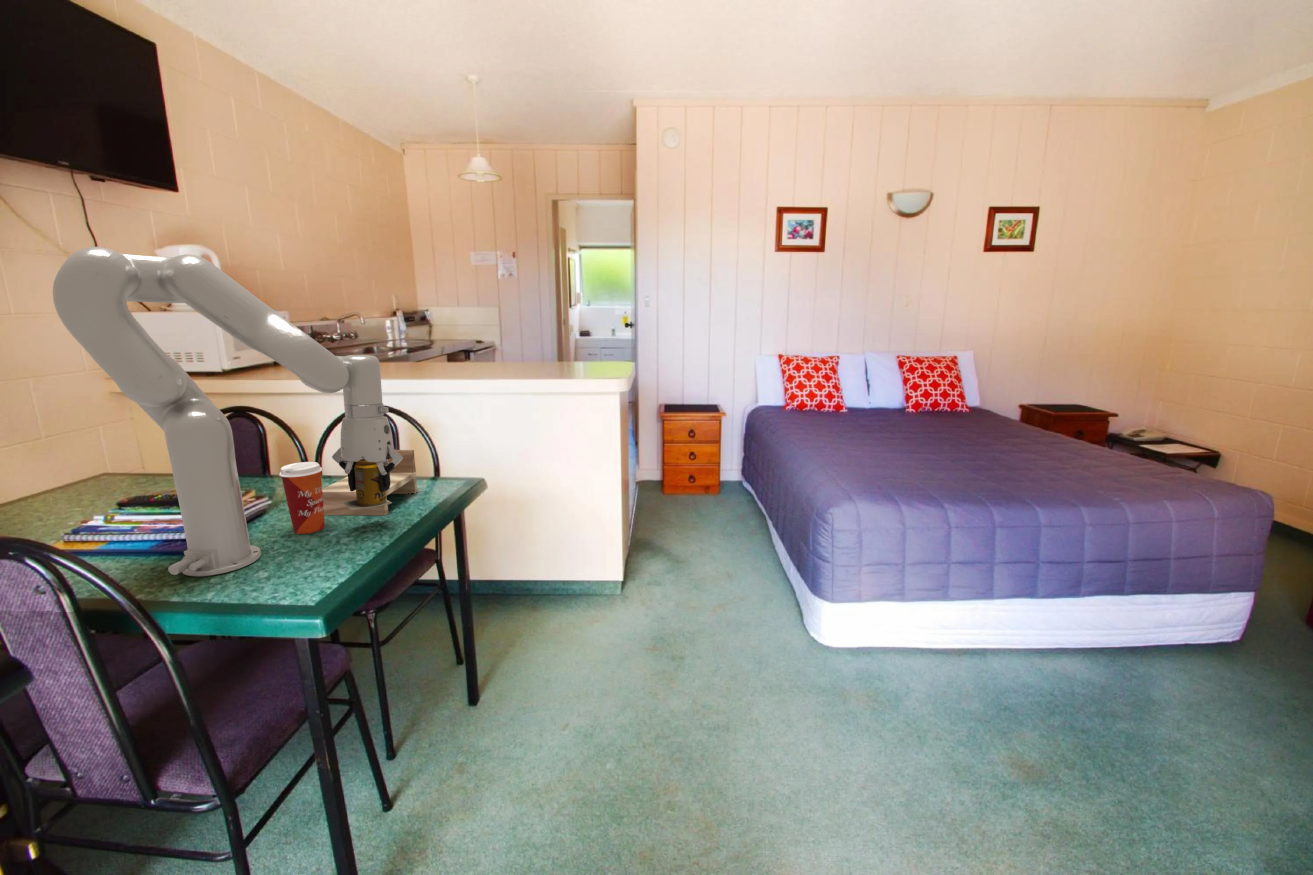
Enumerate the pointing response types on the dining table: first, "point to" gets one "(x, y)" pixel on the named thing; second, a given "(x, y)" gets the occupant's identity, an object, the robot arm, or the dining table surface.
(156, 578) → the dining table surface
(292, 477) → the coffee cup
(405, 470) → the shelf
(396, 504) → the dining table surface
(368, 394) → the robot arm
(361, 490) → the condiment
